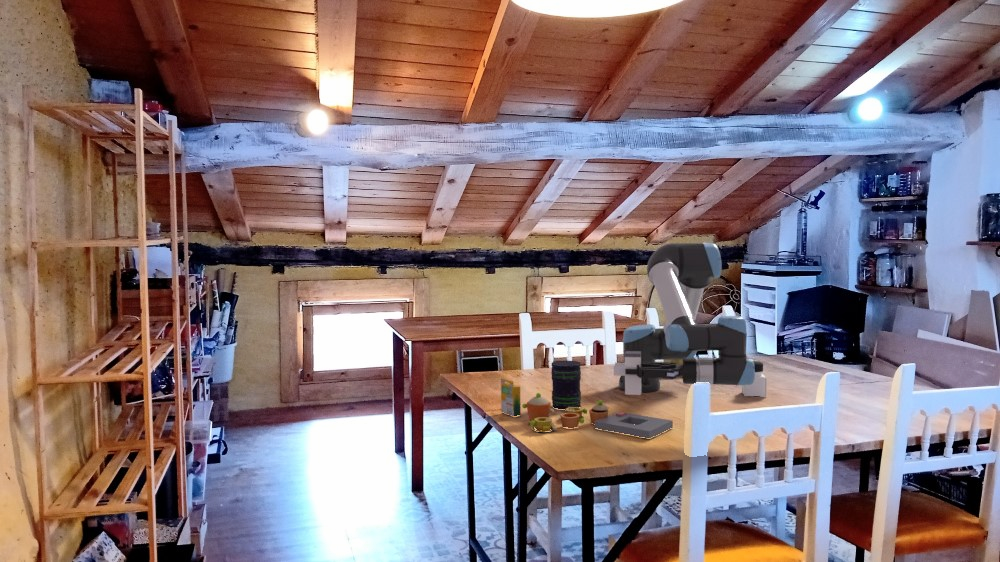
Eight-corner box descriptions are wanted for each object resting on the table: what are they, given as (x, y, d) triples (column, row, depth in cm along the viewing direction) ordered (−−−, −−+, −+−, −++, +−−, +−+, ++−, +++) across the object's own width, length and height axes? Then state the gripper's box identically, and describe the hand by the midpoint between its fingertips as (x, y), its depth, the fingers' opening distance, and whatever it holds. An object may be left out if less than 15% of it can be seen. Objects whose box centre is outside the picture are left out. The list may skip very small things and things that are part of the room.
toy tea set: (534, 436, 198) (533, 403, 197) (517, 422, 213) (516, 392, 212) (616, 427, 205) (615, 395, 205) (594, 414, 220) (593, 385, 220)
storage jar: (546, 405, 232) (546, 362, 231) (572, 402, 236) (571, 359, 235) (560, 412, 223) (560, 367, 222) (586, 408, 227) (586, 364, 226)
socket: (594, 429, 202) (594, 419, 202) (619, 419, 213) (619, 409, 213) (649, 440, 191) (649, 429, 190) (672, 429, 201) (672, 418, 201)
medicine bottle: (766, 397, 237) (766, 363, 237) (744, 397, 239) (744, 363, 238) (762, 393, 244) (762, 359, 244) (741, 392, 246) (741, 359, 245)
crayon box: (521, 416, 219) (520, 380, 218) (513, 418, 217) (512, 381, 216) (508, 412, 225) (508, 377, 224) (501, 413, 223) (500, 378, 223)
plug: (625, 394, 199) (624, 353, 199) (625, 391, 204) (625, 351, 203) (640, 395, 198) (640, 353, 198) (641, 391, 203) (641, 351, 202)
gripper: (698, 390, 188) (612, 387, 194) (695, 377, 205) (616, 375, 211) (698, 363, 188) (612, 361, 193) (695, 352, 205) (616, 351, 210)
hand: (614, 368), depth 202 cm, fingers closed on plug, 4 cm apart
